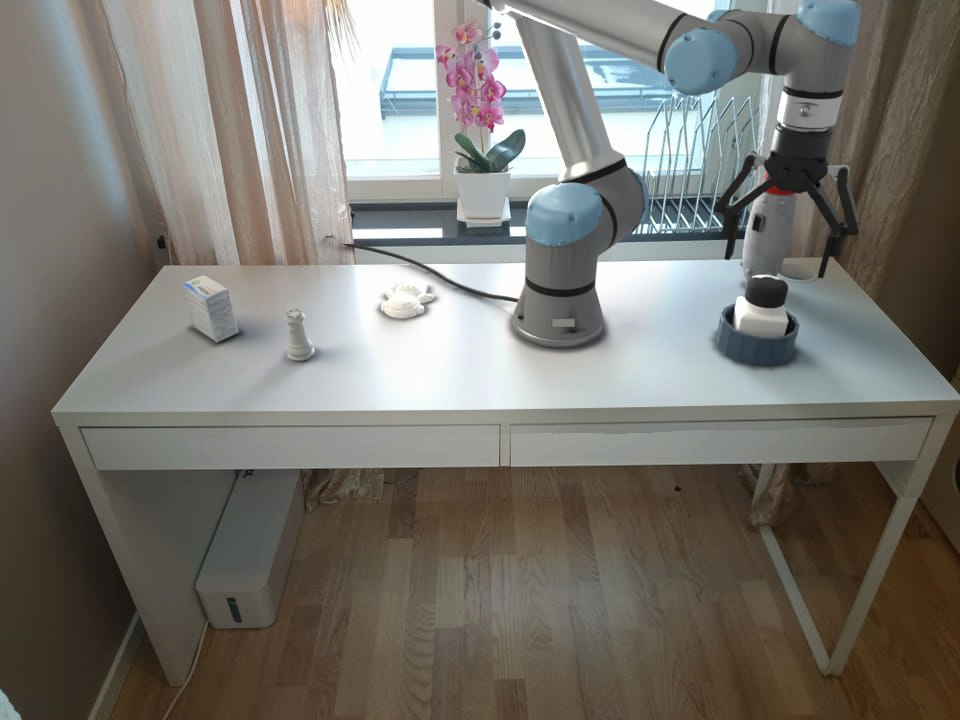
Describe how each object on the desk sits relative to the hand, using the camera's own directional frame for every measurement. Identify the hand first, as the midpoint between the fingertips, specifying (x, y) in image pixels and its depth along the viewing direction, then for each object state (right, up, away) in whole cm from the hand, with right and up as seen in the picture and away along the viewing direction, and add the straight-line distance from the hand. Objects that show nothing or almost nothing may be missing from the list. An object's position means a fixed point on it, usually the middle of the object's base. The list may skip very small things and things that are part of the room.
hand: (773, 265), depth 113 cm
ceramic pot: (0, -12, +8) cm, 15 cm away
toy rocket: (+7, -1, +25) cm, 26 cm away
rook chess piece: (-74, -14, +7) cm, 76 cm away
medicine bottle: (0, -12, +8) cm, 15 cm away
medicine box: (-90, -10, +14) cm, 92 cm away
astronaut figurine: (-58, -4, +22) cm, 62 cm away
